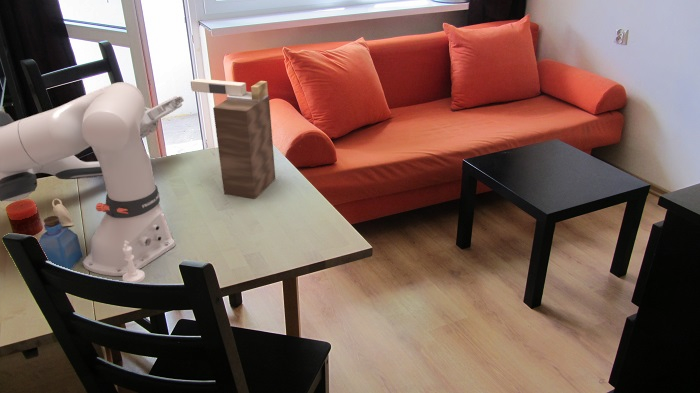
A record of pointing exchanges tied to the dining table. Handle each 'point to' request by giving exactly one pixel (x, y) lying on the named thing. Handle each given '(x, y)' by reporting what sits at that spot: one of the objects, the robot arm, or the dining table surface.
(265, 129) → the wooden block tower
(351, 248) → the dining table surface
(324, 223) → the dining table surface
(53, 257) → the perfume bottle
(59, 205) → the decorative ornament
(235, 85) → the bar
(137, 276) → the chess piece
